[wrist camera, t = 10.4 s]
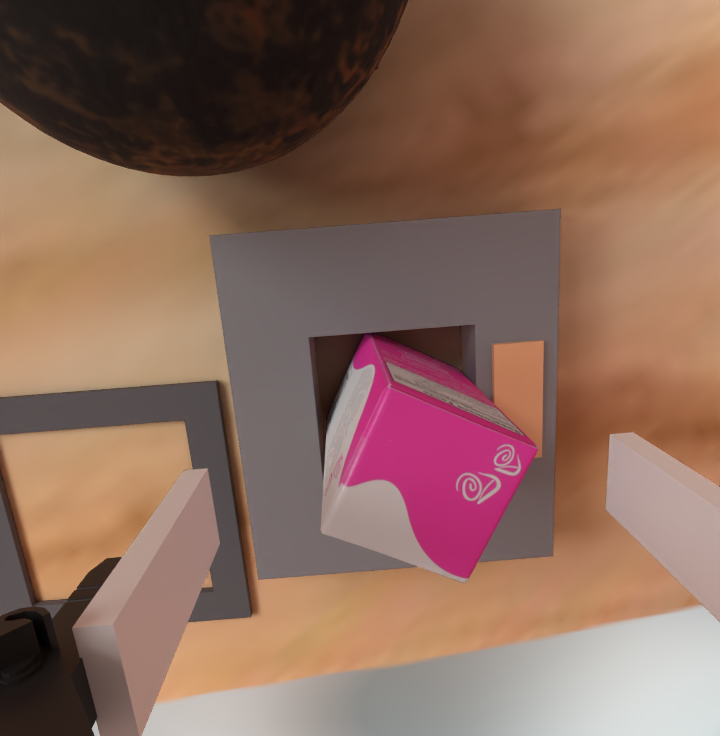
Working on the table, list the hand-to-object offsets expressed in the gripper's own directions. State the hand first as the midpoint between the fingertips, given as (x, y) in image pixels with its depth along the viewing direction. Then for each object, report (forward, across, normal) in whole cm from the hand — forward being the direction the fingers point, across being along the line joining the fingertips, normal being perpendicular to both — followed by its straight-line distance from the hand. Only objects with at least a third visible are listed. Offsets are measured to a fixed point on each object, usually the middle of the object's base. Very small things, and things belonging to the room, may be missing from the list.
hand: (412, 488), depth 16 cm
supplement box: (+12, +1, 0) cm, 12 cm away
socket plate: (+12, 0, 0) cm, 12 cm away
